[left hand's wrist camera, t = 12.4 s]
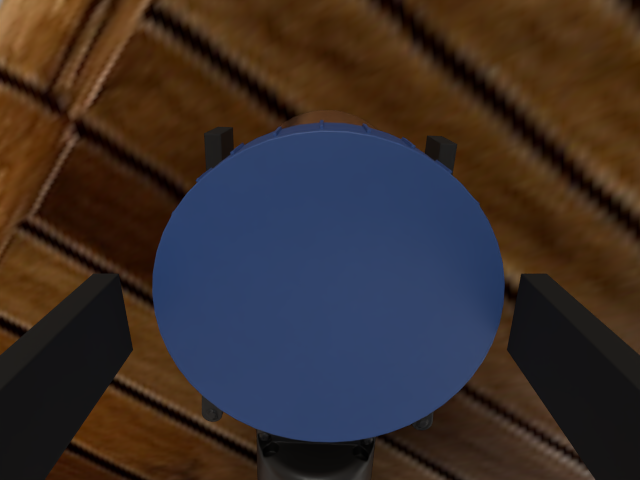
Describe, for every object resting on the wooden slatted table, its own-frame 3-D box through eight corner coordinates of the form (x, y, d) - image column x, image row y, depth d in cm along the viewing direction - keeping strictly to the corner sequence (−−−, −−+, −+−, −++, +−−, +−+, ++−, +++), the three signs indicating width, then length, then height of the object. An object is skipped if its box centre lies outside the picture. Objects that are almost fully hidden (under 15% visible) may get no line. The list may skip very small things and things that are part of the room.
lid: (197, 403, 18) (180, 447, 16) (148, 126, 14) (116, 135, 12) (467, 397, 18) (486, 441, 15) (498, 113, 14) (530, 119, 11)
